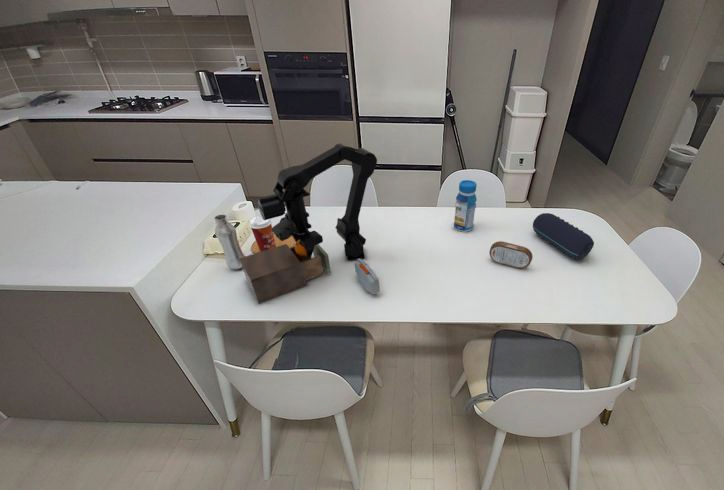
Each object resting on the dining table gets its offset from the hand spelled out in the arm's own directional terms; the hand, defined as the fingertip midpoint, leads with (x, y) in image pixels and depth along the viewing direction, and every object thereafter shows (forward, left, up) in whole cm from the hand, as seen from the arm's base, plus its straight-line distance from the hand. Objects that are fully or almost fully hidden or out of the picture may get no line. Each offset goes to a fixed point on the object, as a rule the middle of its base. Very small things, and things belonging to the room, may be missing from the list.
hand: (305, 251), depth 119 cm
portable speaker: (-96, +4, -9) cm, 96 cm away
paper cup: (+15, -16, -9) cm, 23 cm away
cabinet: (+11, +4, -8) cm, 14 cm away
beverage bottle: (-64, -18, -9) cm, 67 cm away
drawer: (+1, 0, -8) cm, 8 cm away
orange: (-2, -1, 0) cm, 2 cm away
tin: (-71, +11, -9) cm, 72 cm away
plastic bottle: (+25, -9, -9) cm, 28 cm away
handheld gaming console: (-19, +12, -9) cm, 24 cm away
